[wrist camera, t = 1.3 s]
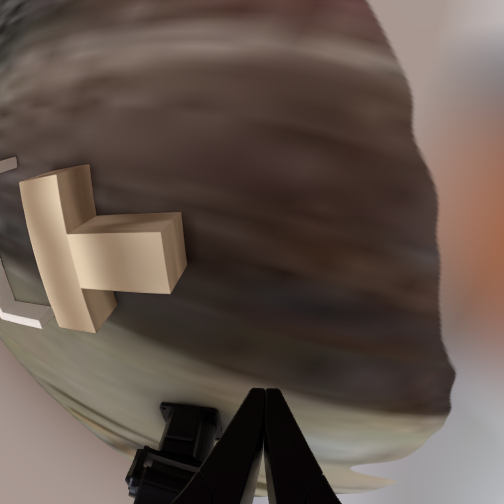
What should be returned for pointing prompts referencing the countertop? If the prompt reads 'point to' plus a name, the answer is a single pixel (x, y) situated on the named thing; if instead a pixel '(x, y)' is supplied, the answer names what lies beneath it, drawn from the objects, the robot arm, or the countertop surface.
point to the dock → (3, 300)
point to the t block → (96, 248)
